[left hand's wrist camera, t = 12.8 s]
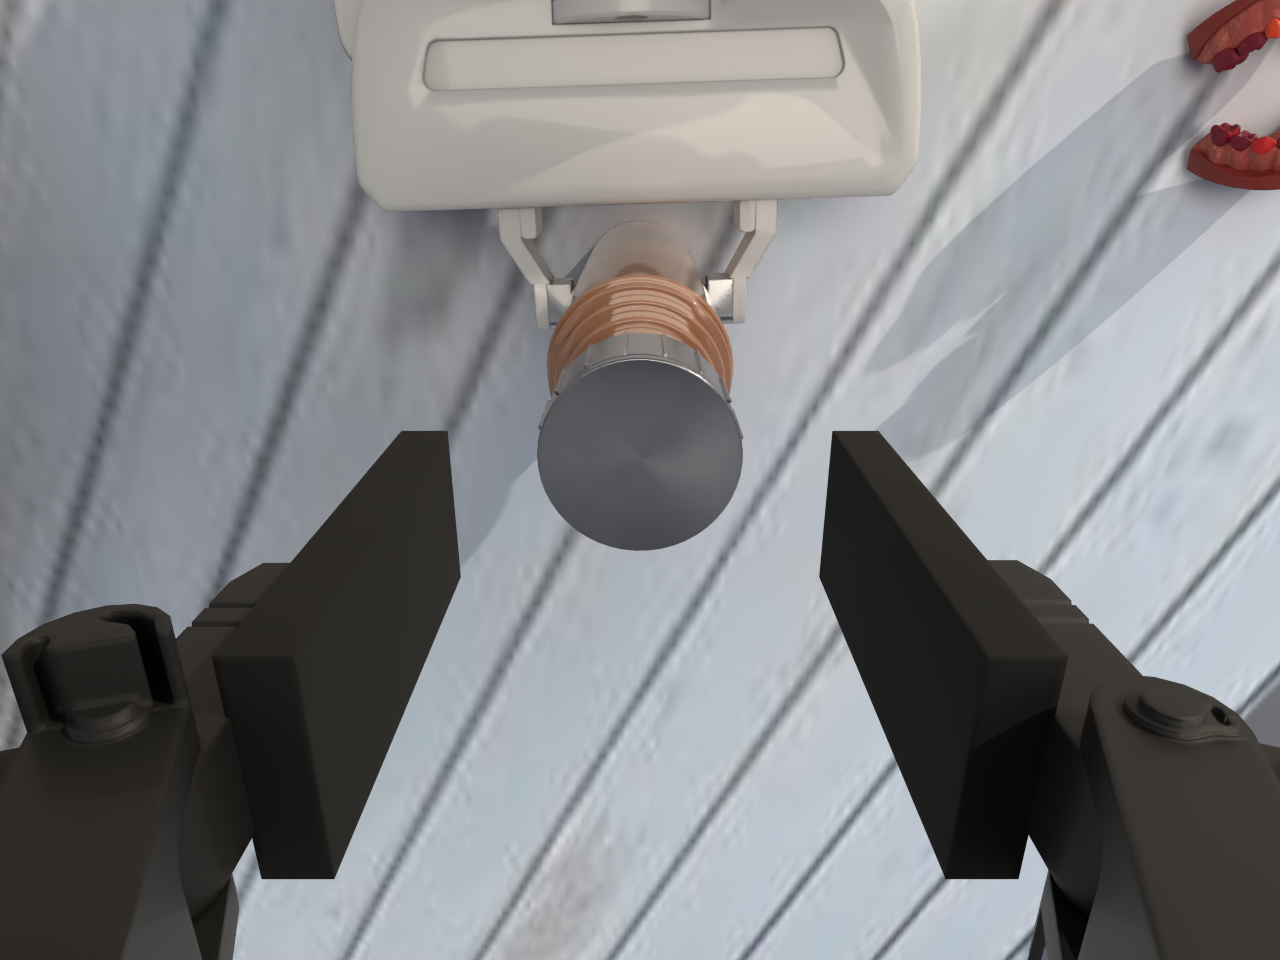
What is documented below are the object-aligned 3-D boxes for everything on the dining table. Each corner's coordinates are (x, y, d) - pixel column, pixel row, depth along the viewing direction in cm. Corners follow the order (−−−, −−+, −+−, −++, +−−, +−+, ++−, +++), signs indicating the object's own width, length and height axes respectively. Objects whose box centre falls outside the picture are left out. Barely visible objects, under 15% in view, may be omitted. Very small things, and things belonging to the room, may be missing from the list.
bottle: (607, 346, 40) (567, 595, 18) (569, 243, 38) (470, 376, 16) (708, 310, 40) (797, 522, 17) (674, 204, 38) (724, 286, 15)
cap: (587, 528, 19) (580, 576, 17) (519, 367, 18) (502, 397, 16) (754, 473, 19) (769, 516, 17) (698, 303, 17) (707, 326, 15)
